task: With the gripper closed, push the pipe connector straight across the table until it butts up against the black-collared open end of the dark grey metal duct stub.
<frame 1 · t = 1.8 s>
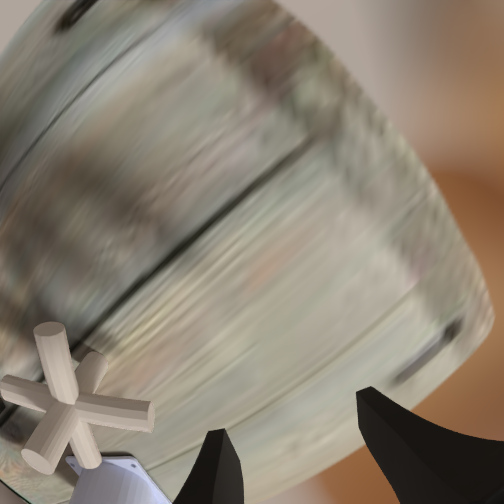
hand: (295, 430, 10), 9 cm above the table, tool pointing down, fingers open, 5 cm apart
pipe connector: (97, 361, 19), on the table
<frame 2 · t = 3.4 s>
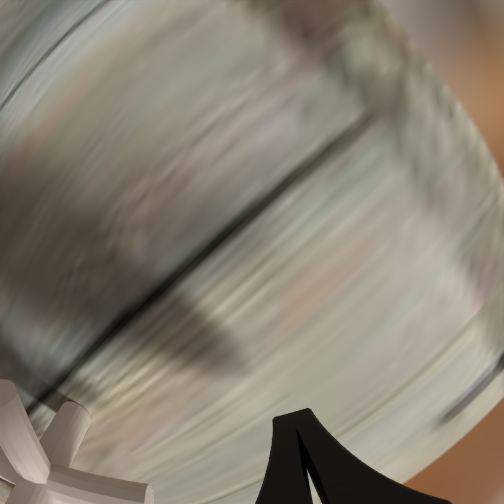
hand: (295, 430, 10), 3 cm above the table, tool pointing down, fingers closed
pipe connector: (77, 412, 13), on the table
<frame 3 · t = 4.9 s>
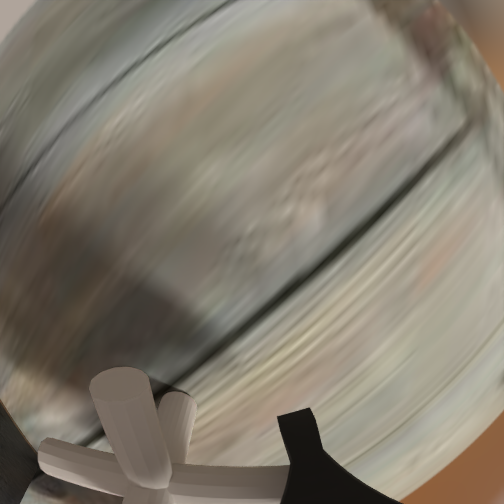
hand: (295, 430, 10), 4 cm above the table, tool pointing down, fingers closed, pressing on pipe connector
pipe connector: (179, 403, 14), on the table, touching gripper
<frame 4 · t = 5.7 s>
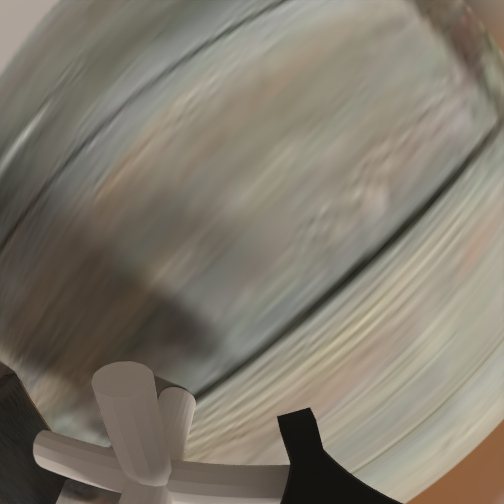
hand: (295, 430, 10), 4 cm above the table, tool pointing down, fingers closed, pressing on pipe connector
pipe connector: (178, 398, 14), on the table, touching gripper
duct stub: (11, 421, 13), on the table
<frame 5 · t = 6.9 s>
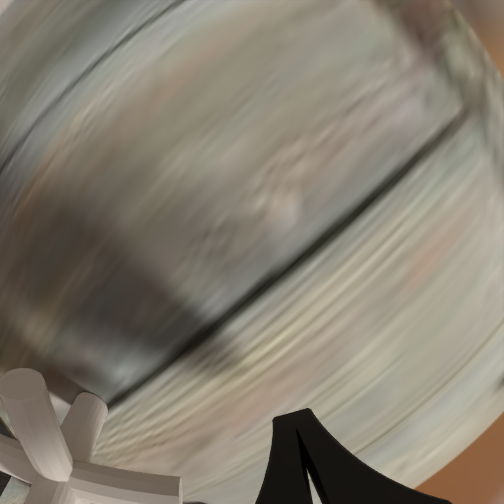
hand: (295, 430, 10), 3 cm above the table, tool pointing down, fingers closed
pipe connector: (92, 403, 13), on the table
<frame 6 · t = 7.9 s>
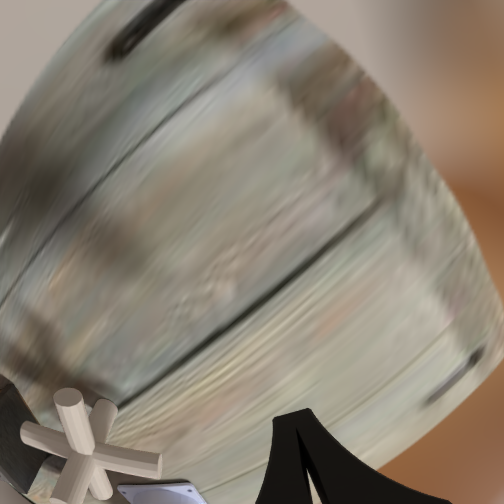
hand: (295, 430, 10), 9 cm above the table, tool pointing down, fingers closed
pipe connector: (107, 406, 20), on the table
duct stub: (11, 415, 19), on the table
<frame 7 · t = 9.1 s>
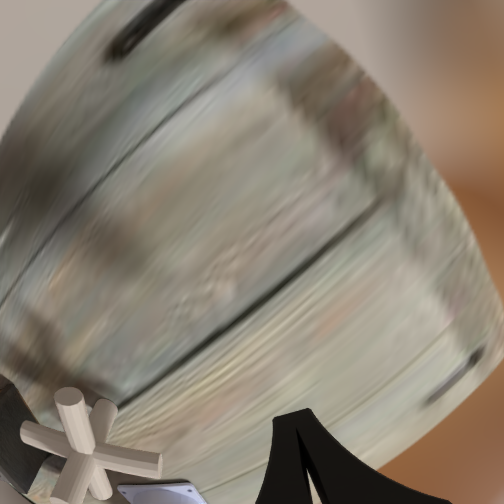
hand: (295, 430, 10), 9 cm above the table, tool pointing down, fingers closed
pipe connector: (107, 406, 20), on the table
duct stub: (11, 415, 19), on the table
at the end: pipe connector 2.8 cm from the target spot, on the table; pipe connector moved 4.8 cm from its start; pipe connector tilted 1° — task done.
